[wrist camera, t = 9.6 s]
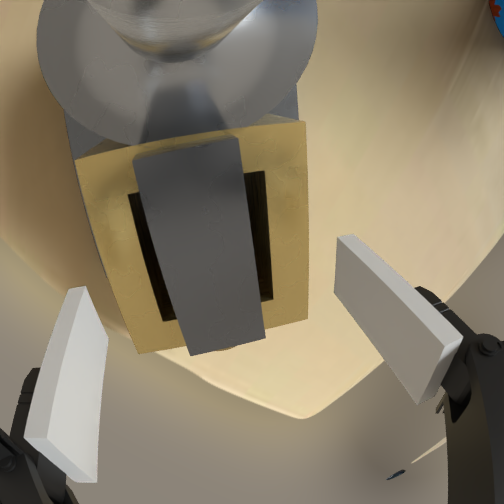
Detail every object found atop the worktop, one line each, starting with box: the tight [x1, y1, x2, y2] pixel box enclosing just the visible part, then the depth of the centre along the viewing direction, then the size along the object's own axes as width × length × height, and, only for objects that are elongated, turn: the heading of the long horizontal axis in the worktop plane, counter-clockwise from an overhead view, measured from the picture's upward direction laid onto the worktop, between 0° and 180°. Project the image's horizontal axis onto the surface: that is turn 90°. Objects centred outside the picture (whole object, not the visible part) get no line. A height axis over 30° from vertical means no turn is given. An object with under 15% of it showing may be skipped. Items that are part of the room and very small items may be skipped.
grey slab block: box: [132, 134, 266, 356], centre depth 18 cm, size 10×4×10 cm, turn 7°
